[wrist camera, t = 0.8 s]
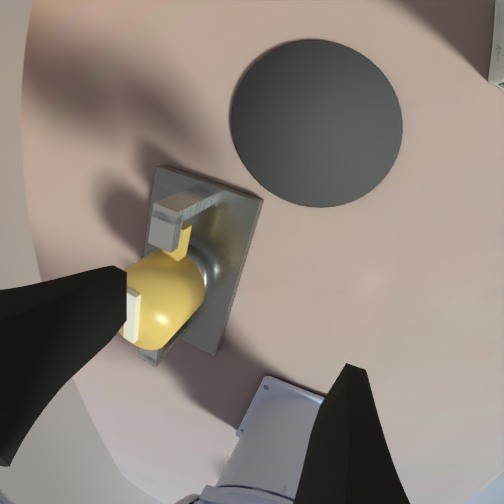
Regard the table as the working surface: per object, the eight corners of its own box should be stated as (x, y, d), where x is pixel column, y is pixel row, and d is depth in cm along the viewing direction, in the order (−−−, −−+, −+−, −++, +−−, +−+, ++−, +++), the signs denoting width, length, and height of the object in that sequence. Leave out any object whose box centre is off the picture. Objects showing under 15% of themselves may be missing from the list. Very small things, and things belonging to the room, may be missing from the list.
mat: (366, 231, 17) (366, 233, 16) (216, 174, 18) (214, 174, 18) (422, 76, 12) (423, 75, 12) (258, 26, 14) (256, 24, 14)
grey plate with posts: (218, 350, 23) (190, 390, 19) (143, 311, 24) (108, 343, 20) (263, 199, 18) (232, 223, 14) (163, 164, 19) (114, 177, 15)
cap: (193, 344, 20) (159, 386, 17) (139, 315, 21) (100, 350, 17) (219, 236, 17) (175, 271, 13) (151, 208, 18) (98, 233, 14)
